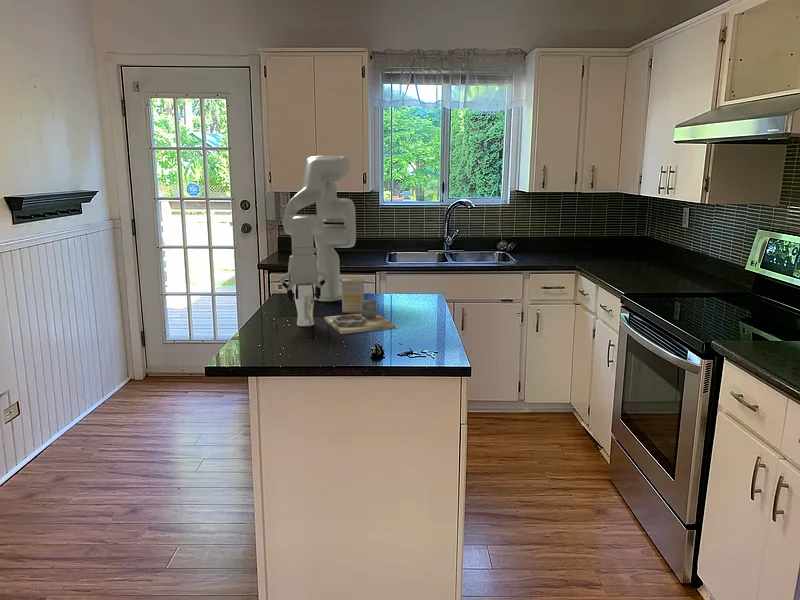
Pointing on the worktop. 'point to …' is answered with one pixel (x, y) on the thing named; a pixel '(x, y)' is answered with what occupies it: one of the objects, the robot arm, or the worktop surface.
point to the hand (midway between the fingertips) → (304, 299)
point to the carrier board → (364, 327)
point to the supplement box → (352, 295)
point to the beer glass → (304, 304)
